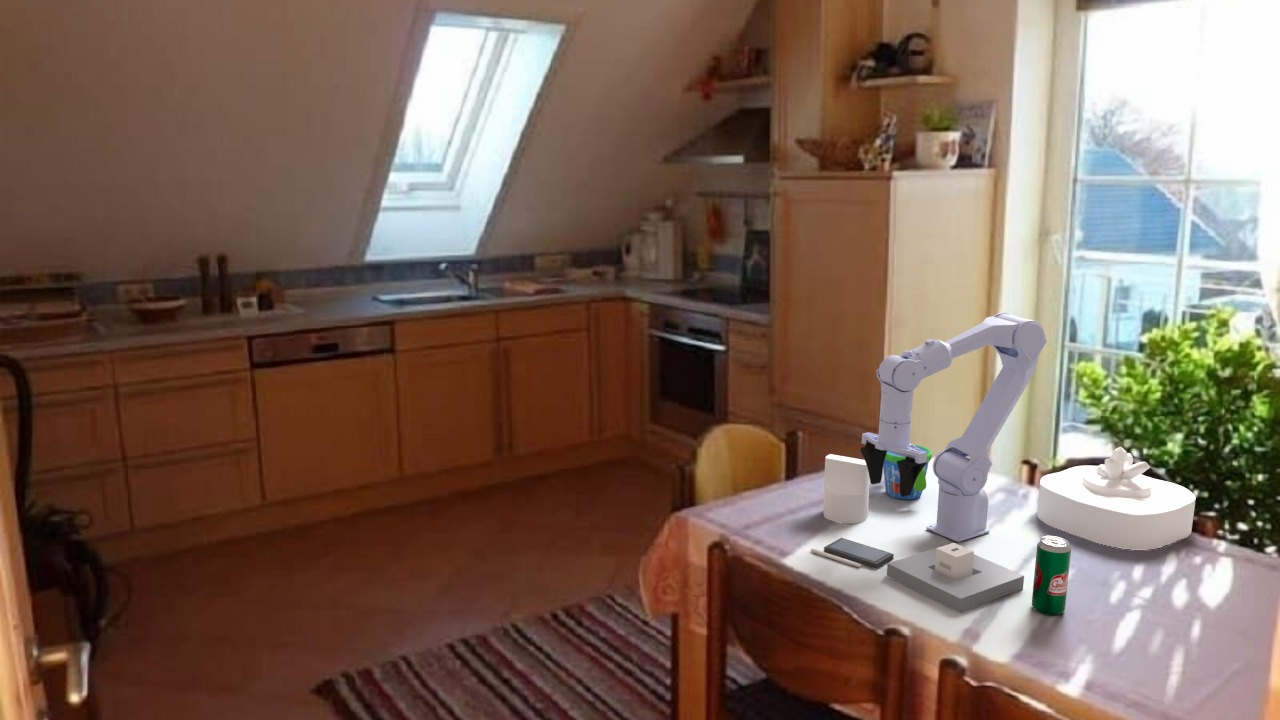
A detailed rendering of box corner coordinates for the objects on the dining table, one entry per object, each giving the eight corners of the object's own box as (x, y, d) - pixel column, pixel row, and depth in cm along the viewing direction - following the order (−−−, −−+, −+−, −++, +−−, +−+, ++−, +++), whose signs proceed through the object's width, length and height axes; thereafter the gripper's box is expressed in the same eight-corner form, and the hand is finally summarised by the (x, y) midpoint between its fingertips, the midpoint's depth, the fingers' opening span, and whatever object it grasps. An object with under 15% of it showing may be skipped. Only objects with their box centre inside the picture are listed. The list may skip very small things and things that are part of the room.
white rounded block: (873, 512, 200) (876, 457, 197) (858, 527, 192) (861, 469, 190) (832, 504, 204) (834, 450, 202) (816, 517, 197) (818, 461, 194)
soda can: (1050, 619, 155) (1056, 549, 152) (1024, 606, 159) (1030, 538, 156) (1071, 612, 157) (1078, 543, 154) (1045, 599, 161) (1052, 532, 159)
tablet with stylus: (832, 539, 186) (833, 534, 186) (893, 558, 177) (893, 553, 177) (810, 552, 180) (810, 546, 180) (871, 572, 172) (871, 566, 171)
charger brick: (951, 572, 171) (953, 542, 169) (971, 581, 167) (974, 550, 166) (933, 578, 168) (935, 547, 167) (954, 587, 165) (956, 556, 163)
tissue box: (1208, 530, 191) (1219, 452, 187) (1136, 559, 178) (1146, 475, 174) (1091, 492, 211) (1099, 422, 208) (1019, 516, 198) (1025, 441, 195)
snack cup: (868, 483, 217) (871, 439, 215) (914, 481, 218) (917, 438, 215) (890, 508, 202) (893, 462, 200) (940, 507, 202) (943, 461, 200)
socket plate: (948, 555, 179) (949, 543, 178) (1023, 588, 165) (1024, 575, 165) (886, 576, 170) (887, 563, 170) (959, 612, 157) (960, 598, 157)
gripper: (851, 413, 184) (847, 481, 187) (909, 432, 172) (904, 504, 175) (878, 408, 188) (873, 475, 191) (937, 427, 176) (931, 498, 179)
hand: (890, 489), depth 183 cm, fingers open, 7 cm apart
